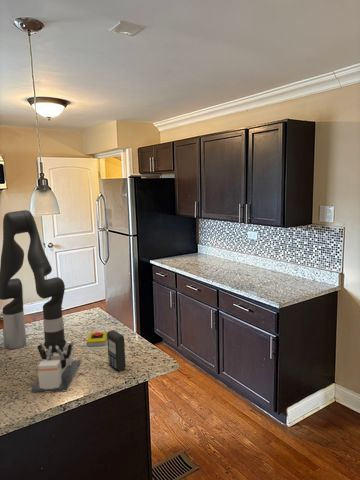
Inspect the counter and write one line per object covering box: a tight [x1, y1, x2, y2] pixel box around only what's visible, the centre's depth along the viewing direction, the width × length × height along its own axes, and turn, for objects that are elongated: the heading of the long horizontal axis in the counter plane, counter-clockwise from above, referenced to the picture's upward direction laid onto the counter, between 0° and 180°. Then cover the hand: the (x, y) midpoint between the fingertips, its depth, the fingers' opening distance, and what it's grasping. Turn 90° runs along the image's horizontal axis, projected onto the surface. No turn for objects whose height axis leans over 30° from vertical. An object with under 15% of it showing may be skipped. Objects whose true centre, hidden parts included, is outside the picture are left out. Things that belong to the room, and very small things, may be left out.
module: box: [50, 354, 65, 375], centre depth 144 cm, size 4×6×7 cm
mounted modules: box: [37, 341, 74, 388], centre depth 144 cm, size 7×21×9 cm, turn 2°
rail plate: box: [30, 359, 81, 393], centre depth 145 cm, size 13×22×1 cm, turn 2°
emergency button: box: [85, 331, 108, 350], centre depth 176 cm, size 9×4×15 cm
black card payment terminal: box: [106, 330, 126, 372], centre depth 150 cm, size 9×4×15 cm, turn 39°
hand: (57, 367), depth 144 cm, fingers open, 4 cm apart
